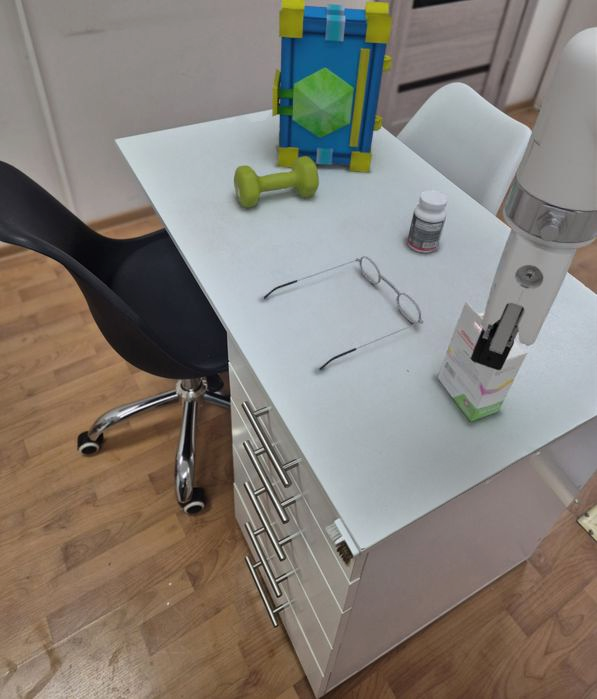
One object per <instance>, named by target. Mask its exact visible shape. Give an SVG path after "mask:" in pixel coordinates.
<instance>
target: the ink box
mask: <svg viewBox="0 0 597 699" xmlns="http://www.w3.org/2000/svg"><path fill="white" fill-rule="evenodd" d="M484 312H485V311H482V312H477V311H476V310H475V309H474V307H472V305H471V304H470V303H469V302H468V301H467V302H465V303H464V304H463V307H462V309H461V313H460V315H459V318H458V319H457V322H456V325H455V327H454V330H453V333H452V336H451V339H450V342H449V345H448V348H447V351H446V353H445V355H444V359H443V362H442V365H441V368H440V370H439V373H438V377H437V379H438V381H439V382H440V383H441V385H442V386H443V387H444V389H445V390H446V392H447V393H448V394H449V395H450V396H451V398H452V399H453V401H454V402H455V403H456V404H457V406H458V407H459V408H460V411H461V412H462V413H463V414H464V416H465V417H466V418H467V420H469V422H475V421H477V420H479V419H482V418H485V417H488V416H490V415H494V414H496V413H498V412H499V411H500V409H501V407H502V405H503V403H504V401H505V399H506V397H507V395H508V394H509V391H510V389H511V388H512V385H513V383H514V381H515V379H516V377H517V375H518V373H519V371H520V369H521V367H522V364H523V363H524V361H525V359H526V357H527V355H528V352H527V351H526V350H525V349H524V348H523V347H522V345H521V344H520V343H519V342H518V341H517V340H516V338H515V339H514V344H513V346H512V348H511V351H510V353H509V355H508V357H507V359H506V361H505V363H504V365H503V367H502V369H501V370H496V369H493V368H490V367H487V366H484V365H481V364H479V363H476V362H473V361H472V360H471V356H472V353H473V350H474V348H475V345H476V343H477V340H478V338H479V336H480V333H481V331H482V325H481V324H482V320H483V316H484Z"/></svg>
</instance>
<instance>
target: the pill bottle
mask: <svg viewBox="0 0 597 699" xmlns="http://www.w3.org/2000/svg"><path fill="white" fill-rule="evenodd" d="M447 204H448V197H447V195H445V194H444V193H442V192H440V191H438V190H433V189H432V190H431V189H430V190H424V191H422V193H421V194H420V196H419V199H418V204H416V206H415V208H414V210H413V213H412V218H411V223H410V227H409V230H408V236H407V245H408V246H409V247H410V249H412V250H414V251H415V252H418V253H421V254H422V253H427V254H428V253H432V252H434V251H436V250H437V249H438V247H439V244H440V240H441V236H442V234H443V229H444V226H445V223H446V219H447V213H448V212H447V210H446V208H447Z"/></svg>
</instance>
